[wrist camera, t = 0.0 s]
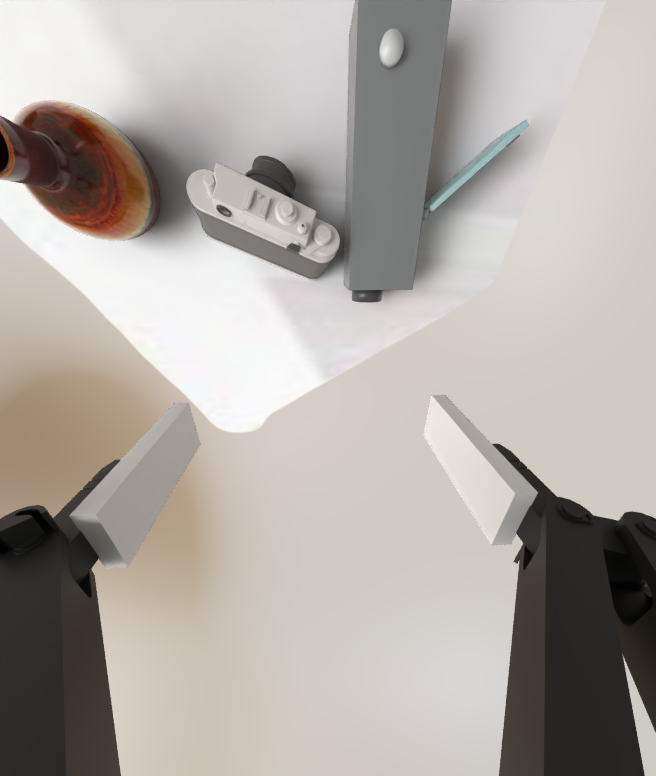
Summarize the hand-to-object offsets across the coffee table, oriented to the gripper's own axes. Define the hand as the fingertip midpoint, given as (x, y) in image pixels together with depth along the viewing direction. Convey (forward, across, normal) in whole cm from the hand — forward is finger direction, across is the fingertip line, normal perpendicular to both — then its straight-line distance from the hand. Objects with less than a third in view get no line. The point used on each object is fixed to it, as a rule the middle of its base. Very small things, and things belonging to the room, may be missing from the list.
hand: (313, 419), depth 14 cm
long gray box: (+28, +9, +16) cm, 33 cm away
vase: (+28, -22, +15) cm, 39 cm away
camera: (+28, -4, +12) cm, 31 cm away
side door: (+28, +18, +16) cm, 37 cm away
